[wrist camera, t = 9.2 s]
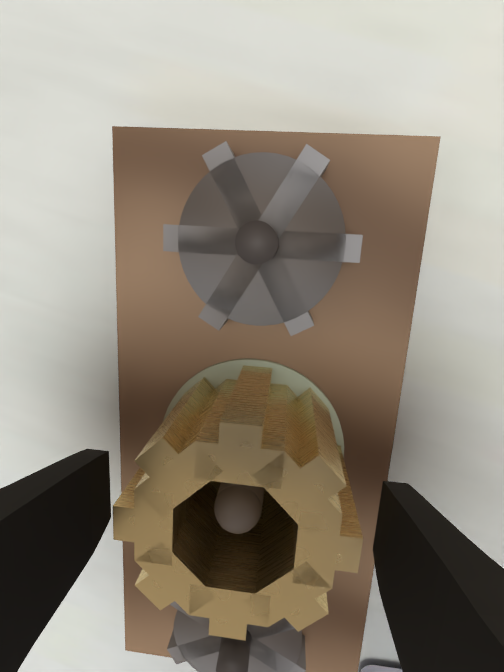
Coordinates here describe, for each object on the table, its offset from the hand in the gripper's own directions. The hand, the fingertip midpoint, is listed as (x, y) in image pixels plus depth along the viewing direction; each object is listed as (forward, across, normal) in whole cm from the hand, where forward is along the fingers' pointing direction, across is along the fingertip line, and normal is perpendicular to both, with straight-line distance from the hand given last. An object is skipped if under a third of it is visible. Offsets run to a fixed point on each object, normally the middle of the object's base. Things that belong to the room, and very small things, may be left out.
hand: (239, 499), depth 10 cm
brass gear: (+3, 0, 0) cm, 3 cm away
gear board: (+4, 0, 0) cm, 4 cm away
